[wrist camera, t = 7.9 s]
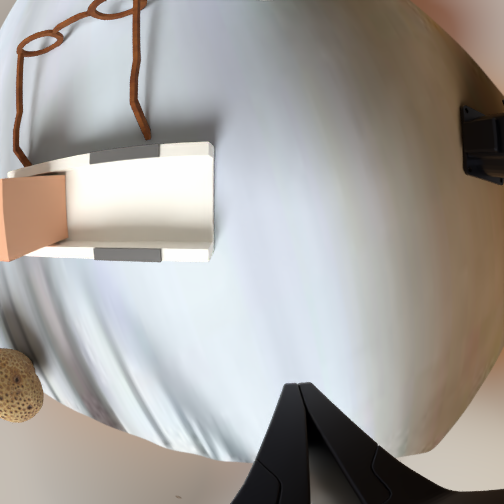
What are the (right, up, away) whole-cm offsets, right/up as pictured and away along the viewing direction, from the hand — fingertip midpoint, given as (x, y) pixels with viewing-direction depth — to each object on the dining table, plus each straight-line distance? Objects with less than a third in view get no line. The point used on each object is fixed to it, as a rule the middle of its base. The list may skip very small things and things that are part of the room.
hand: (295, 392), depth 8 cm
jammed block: (-18, +8, +10) cm, 22 cm away
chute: (-13, +8, +10) cm, 18 cm away
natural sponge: (-28, -9, +15) cm, 33 cm away
